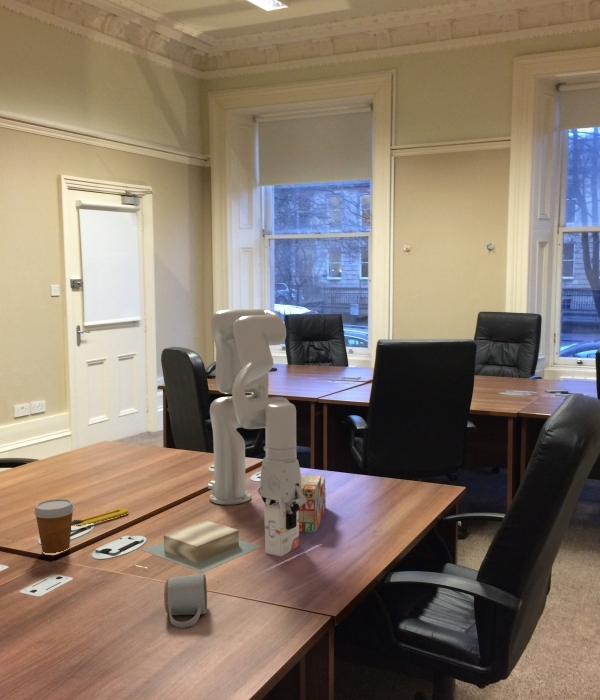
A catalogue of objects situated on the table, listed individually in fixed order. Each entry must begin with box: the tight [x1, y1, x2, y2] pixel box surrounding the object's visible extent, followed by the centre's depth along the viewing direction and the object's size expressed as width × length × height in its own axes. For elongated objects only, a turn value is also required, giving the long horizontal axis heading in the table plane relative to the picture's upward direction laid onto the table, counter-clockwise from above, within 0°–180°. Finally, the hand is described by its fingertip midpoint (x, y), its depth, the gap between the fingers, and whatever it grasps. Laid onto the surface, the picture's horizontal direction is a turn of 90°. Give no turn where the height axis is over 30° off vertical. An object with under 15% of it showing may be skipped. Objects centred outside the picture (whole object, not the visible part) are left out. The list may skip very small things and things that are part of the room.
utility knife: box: [71, 507, 129, 526], centre depth 198 cm, size 7×22×2 cm, turn 138°
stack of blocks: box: [299, 474, 327, 534], centre depth 197 cm, size 21×6×12 cm, turn 170°
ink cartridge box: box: [263, 497, 300, 557], centre depth 174 cm, size 9×5×15 cm, turn 148°
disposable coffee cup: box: [33, 498, 75, 553], centre depth 175 cm, size 10×10×12 cm
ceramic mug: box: [163, 573, 208, 628], centre depth 140 cm, size 11×8×8 cm
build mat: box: [141, 539, 262, 574], centre depth 176 cm, size 22×20×1 cm
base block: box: [163, 519, 240, 563], centre depth 175 cm, size 12×14×4 cm
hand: (281, 524), depth 174 cm, fingers closed on ink cartridge box, 5 cm apart
